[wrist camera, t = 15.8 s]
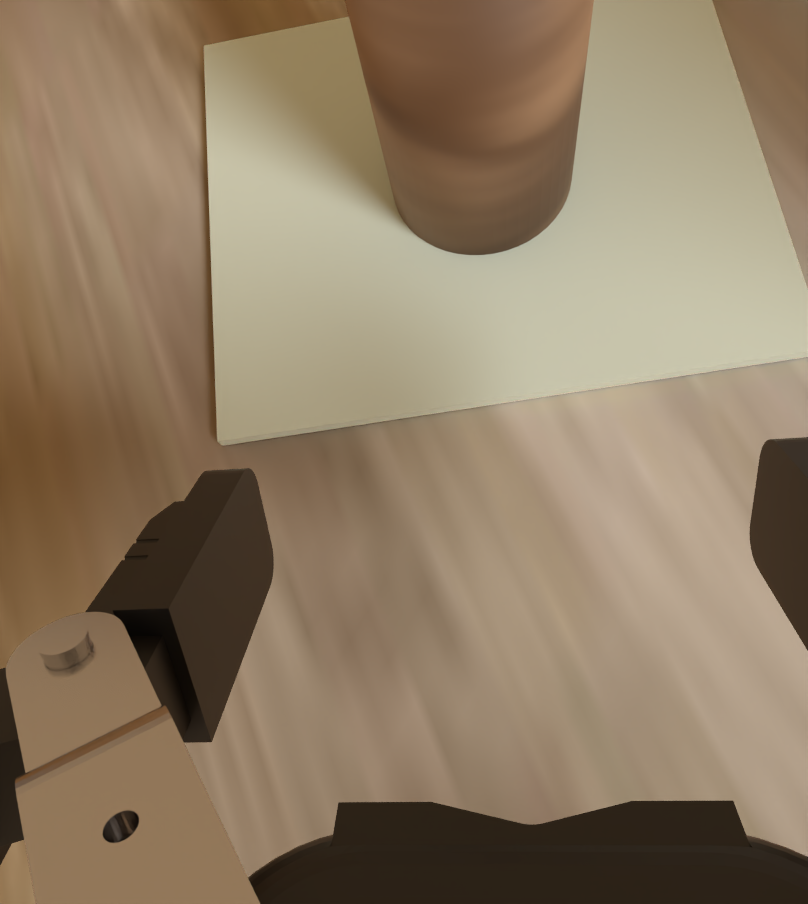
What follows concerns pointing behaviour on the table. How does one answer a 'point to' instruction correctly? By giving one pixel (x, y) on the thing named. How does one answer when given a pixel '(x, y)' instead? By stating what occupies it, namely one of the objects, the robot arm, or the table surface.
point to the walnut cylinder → (475, 112)
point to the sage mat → (493, 275)
